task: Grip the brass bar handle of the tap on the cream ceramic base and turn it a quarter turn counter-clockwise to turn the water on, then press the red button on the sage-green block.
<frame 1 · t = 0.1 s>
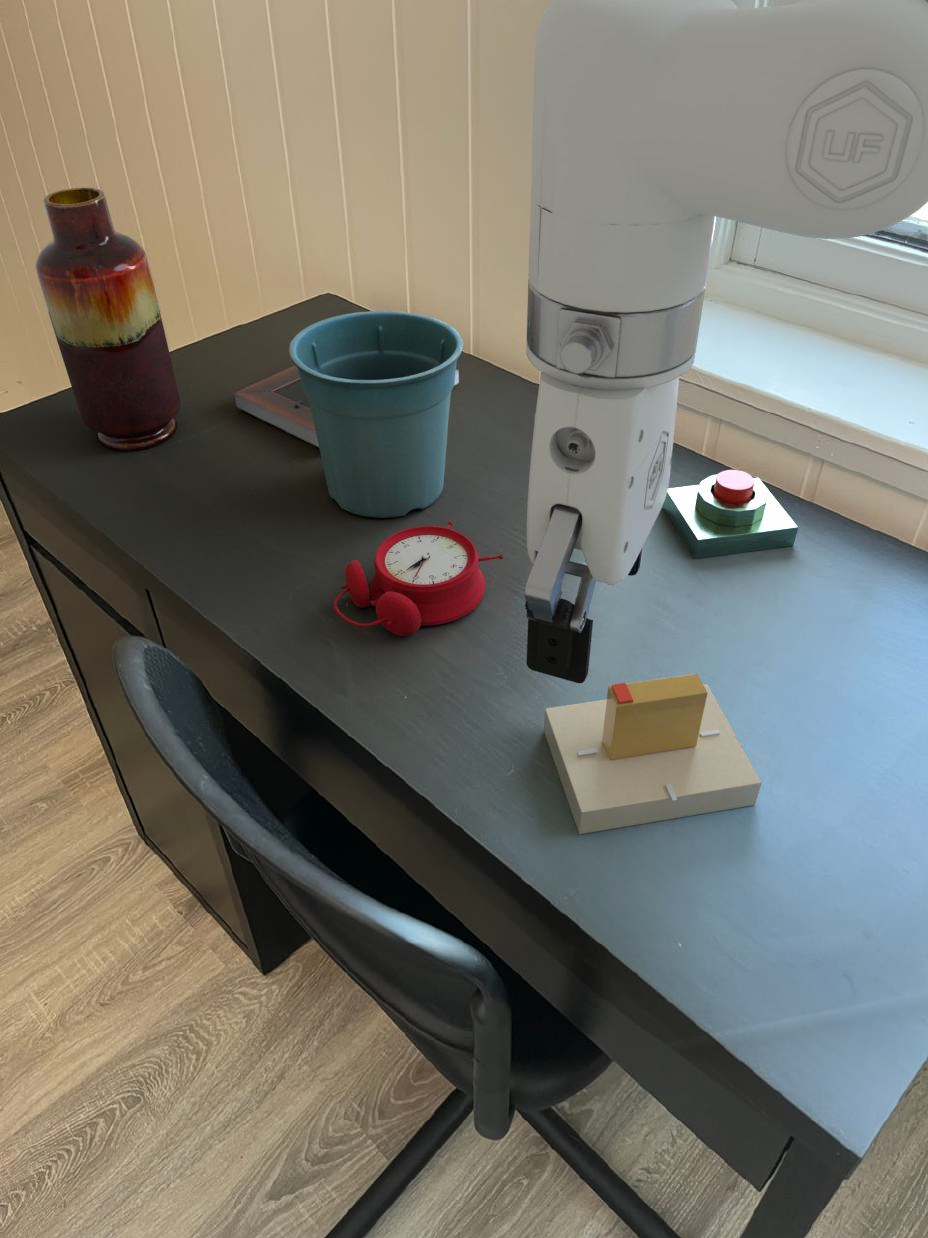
hand: (585, 617, 53), 20 cm above the table, tool pointing down, fingers open, 9 cm apart
vase: (138, 433, 110), on the table
button: (733, 487, 91), point 4 cm above the table, slide at 0.1 cm
tap handle: (653, 715, 67), point 5 cm above the table, hinge at 0.0°
alarm clock: (413, 600, 86), on the table
picture frame: (350, 399, 115), on the table
flower pot: (387, 489, 100), on the table
button block: (726, 525, 93), on the table
tap base: (645, 766, 70), on the table
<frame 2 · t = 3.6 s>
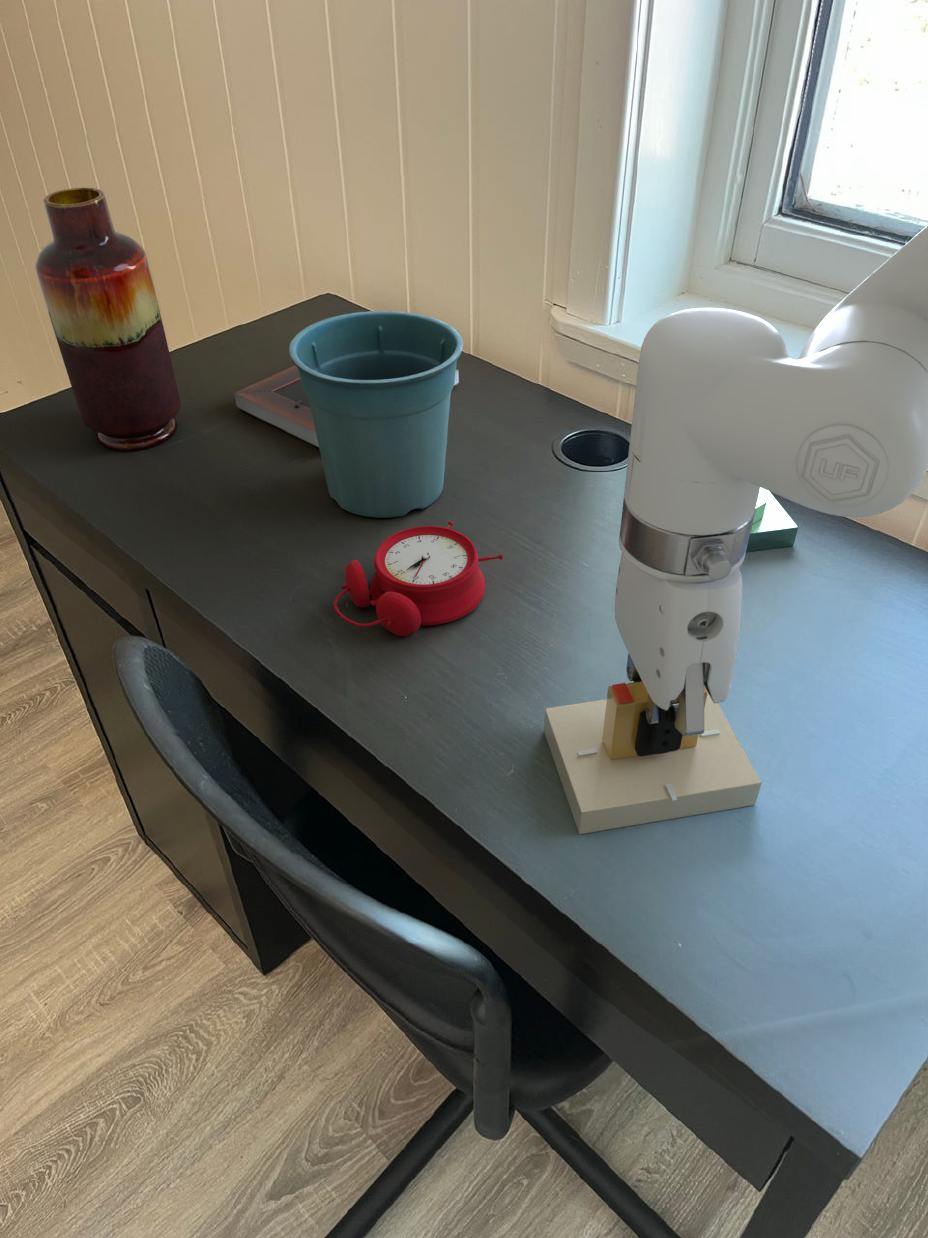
hand: (650, 734, 68), 3 cm above the table, tool pointing down, fingers closed on tap handle, 2 cm apart
tap handle: (653, 715, 67), point 5 cm above the table, hinge at 0.0°, touching gripper
everything else where it was.
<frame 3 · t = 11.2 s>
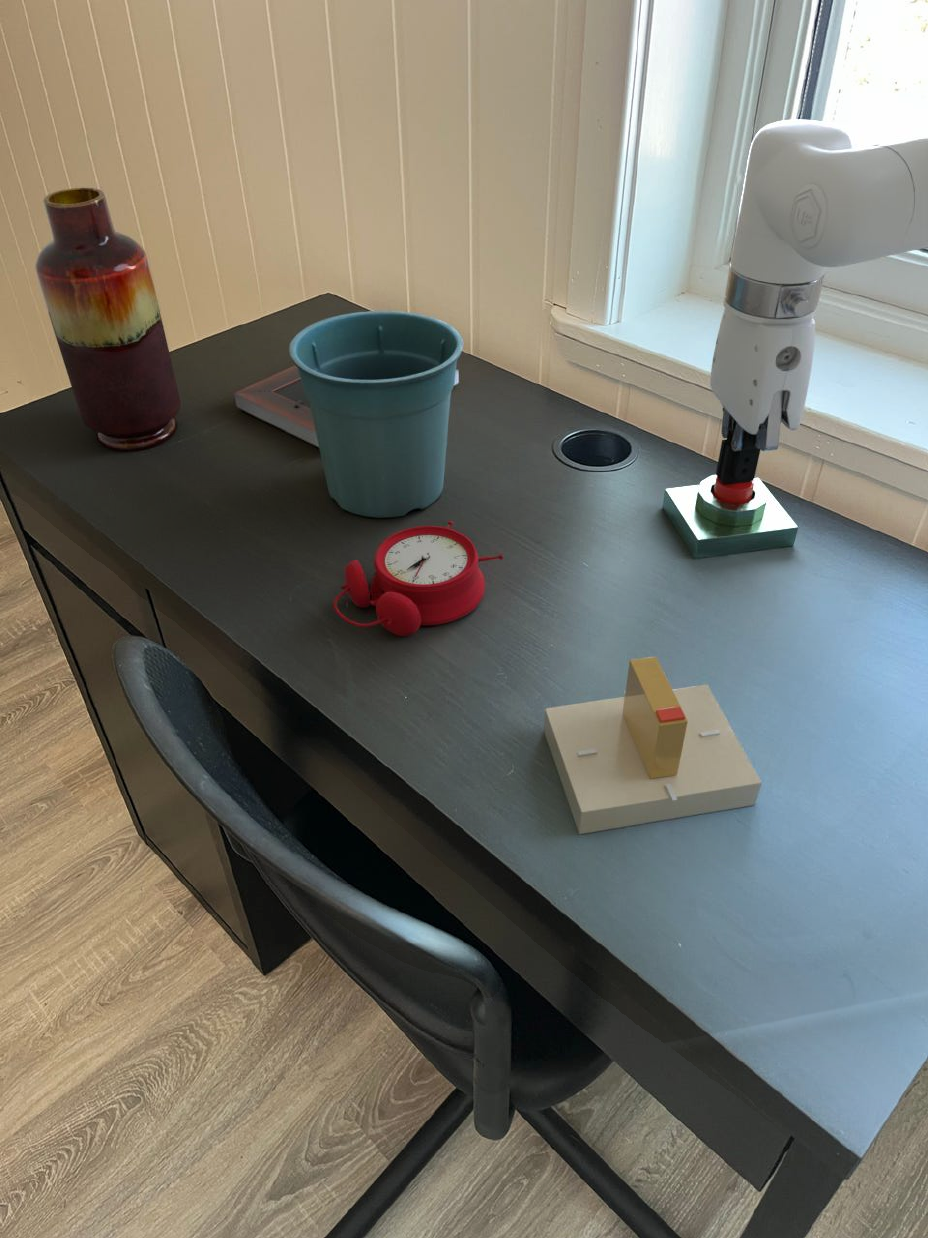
hand: (734, 478, 90), 5 cm above the table, tool pointing down, fingers closed
button: (733, 487, 91), point 4 cm above the table, slide at 0.1 cm, touching gripper
tap handle: (653, 715, 67), point 5 cm above the table, hinge at 89.3°
everything else where it was.
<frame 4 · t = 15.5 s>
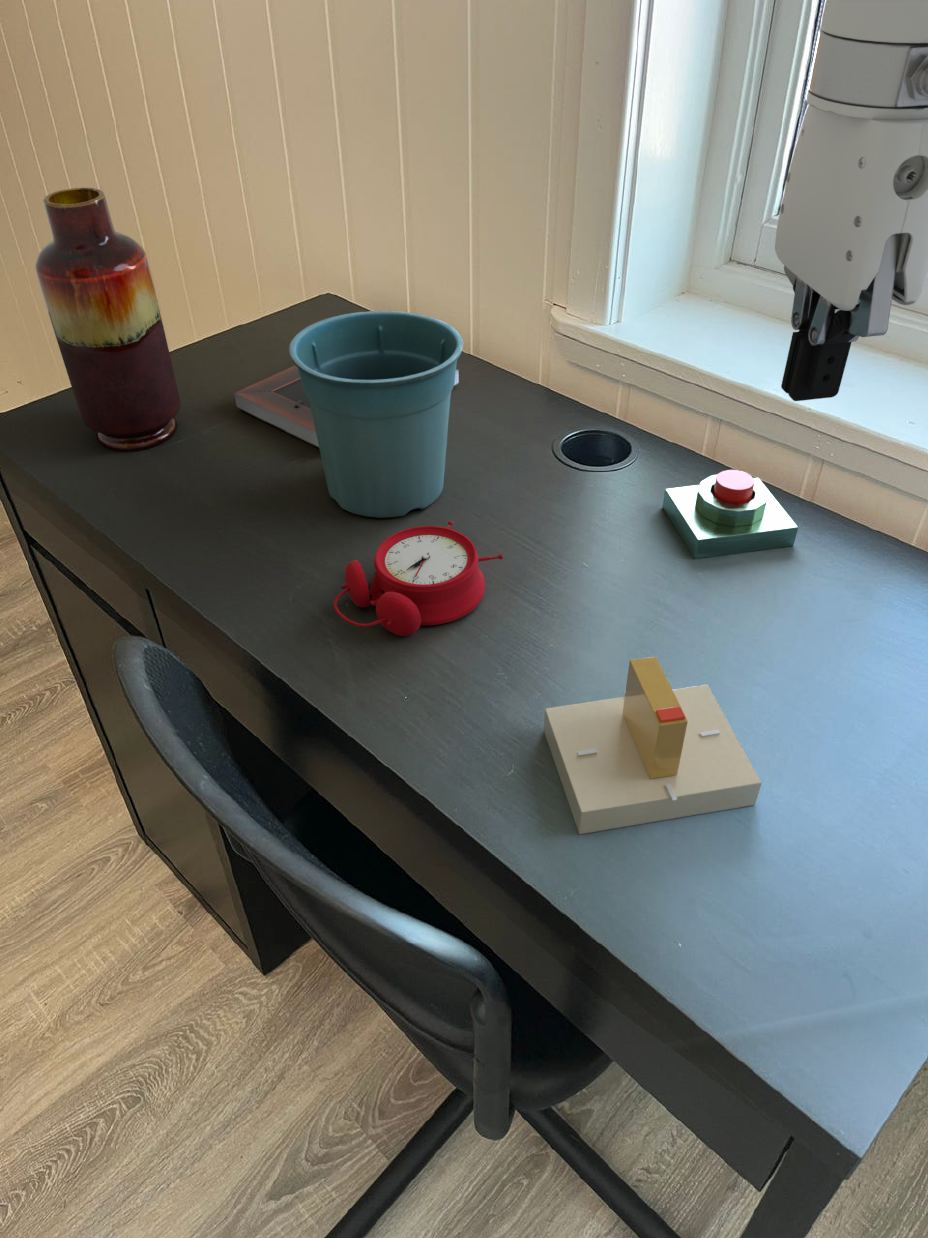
hand: (808, 392, 61), 25 cm above the table, tool pointing down, fingers closed
button: (733, 487, 91), point 4 cm above the table, slide at 0.1 cm
everything else where it was.
at the end: tap handle at +89° (first picture: +0°); button pushed in 1.1 cm at the most during the clip, back to where it started at the end; button slide at 0.1 cm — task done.
